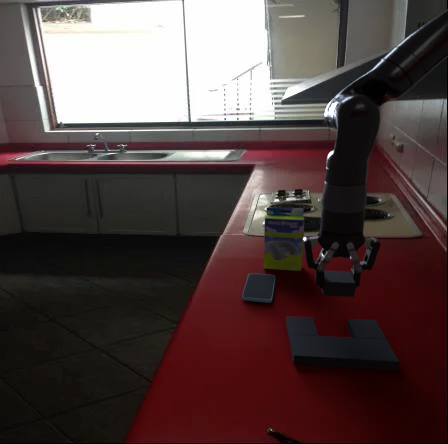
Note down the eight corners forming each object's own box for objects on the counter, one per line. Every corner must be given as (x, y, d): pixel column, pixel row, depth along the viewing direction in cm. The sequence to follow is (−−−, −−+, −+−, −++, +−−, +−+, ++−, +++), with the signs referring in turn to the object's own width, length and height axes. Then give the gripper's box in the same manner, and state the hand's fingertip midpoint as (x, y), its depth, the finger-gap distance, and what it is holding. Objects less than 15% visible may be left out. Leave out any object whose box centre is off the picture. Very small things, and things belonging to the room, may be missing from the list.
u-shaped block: (374, 328, 88) (375, 319, 87) (398, 371, 75) (399, 361, 74) (285, 324, 91) (286, 316, 91) (293, 364, 78) (294, 355, 78)
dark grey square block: (347, 284, 85) (348, 270, 84) (354, 297, 80) (355, 283, 79) (319, 283, 86) (320, 270, 85) (324, 296, 81) (325, 282, 80)
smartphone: (275, 275, 112) (272, 300, 99) (275, 278, 113) (271, 304, 99) (248, 272, 115) (241, 297, 101) (248, 276, 115) (241, 301, 101)
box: (263, 269, 119) (264, 211, 113) (264, 263, 122) (265, 206, 117) (302, 272, 115) (305, 212, 110) (302, 266, 119) (304, 207, 114)
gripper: (305, 211, 76) (301, 294, 81) (392, 211, 73) (381, 297, 78) (300, 200, 83) (296, 277, 88) (378, 200, 80) (369, 280, 85)
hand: (336, 286), depth 83 cm, fingers closed on dark grey square block, 5 cm apart
